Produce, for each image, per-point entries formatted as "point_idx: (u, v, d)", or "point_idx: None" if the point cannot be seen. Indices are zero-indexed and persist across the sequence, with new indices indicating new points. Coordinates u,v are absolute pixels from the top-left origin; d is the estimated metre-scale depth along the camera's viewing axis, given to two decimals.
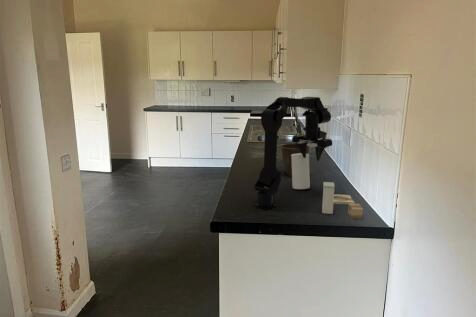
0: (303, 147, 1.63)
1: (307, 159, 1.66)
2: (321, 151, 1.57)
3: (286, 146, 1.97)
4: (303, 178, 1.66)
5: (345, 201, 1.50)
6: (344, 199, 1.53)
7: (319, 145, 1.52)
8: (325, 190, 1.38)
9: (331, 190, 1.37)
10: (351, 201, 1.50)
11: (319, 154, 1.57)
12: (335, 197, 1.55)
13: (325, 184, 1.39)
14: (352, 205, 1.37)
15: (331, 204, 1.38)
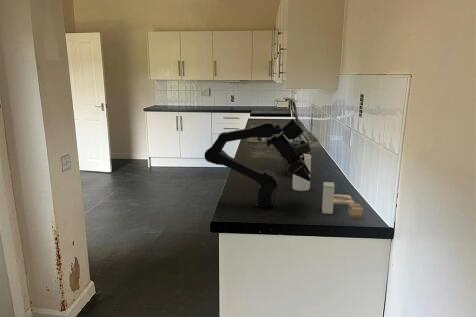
0: None
1: (309, 162, 1.64)
2: (304, 171, 1.35)
3: None
4: (303, 180, 1.65)
5: (345, 201, 1.50)
6: (344, 199, 1.53)
7: None
8: (325, 190, 1.38)
9: (331, 190, 1.37)
10: (351, 201, 1.50)
11: (303, 176, 1.36)
12: (335, 197, 1.55)
13: (325, 184, 1.39)
14: (352, 205, 1.37)
15: (331, 204, 1.38)
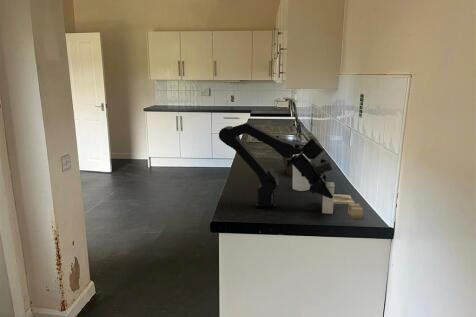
0: None
1: None
2: (325, 189, 1.36)
3: None
4: (303, 180, 1.65)
5: (345, 201, 1.50)
6: (344, 199, 1.53)
7: None
8: None
9: (331, 190, 1.37)
10: (351, 201, 1.50)
11: (325, 193, 1.37)
12: (335, 197, 1.55)
13: None
14: (352, 205, 1.37)
15: (331, 204, 1.38)
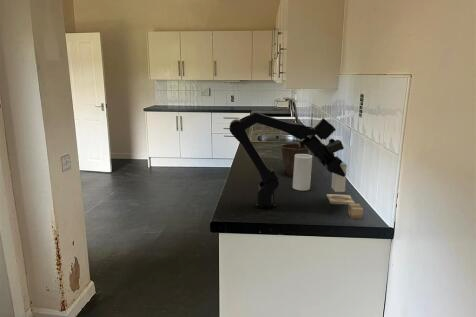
0: None
1: (309, 161, 1.65)
2: (339, 168, 1.40)
3: (286, 146, 1.97)
4: (303, 180, 1.66)
5: (345, 201, 1.50)
6: (344, 199, 1.53)
7: None
8: None
9: (343, 168, 1.41)
10: (351, 201, 1.50)
11: (339, 172, 1.40)
12: (335, 197, 1.55)
13: None
14: (352, 205, 1.37)
15: (343, 182, 1.42)
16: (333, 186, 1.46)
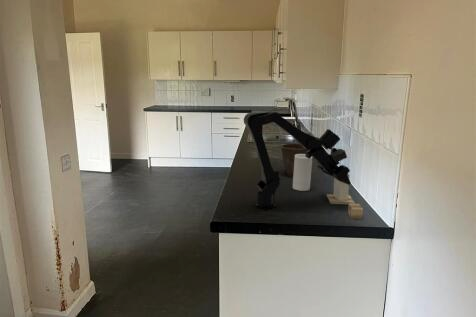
0: (331, 171, 1.56)
1: (309, 162, 1.64)
2: (346, 177, 1.46)
3: (286, 146, 1.97)
4: (302, 180, 1.66)
5: (345, 201, 1.50)
6: None
7: (336, 178, 1.44)
8: None
9: None
10: (351, 201, 1.50)
11: (345, 181, 1.46)
12: None
13: None
14: (352, 205, 1.37)
15: (346, 191, 1.51)
16: (336, 195, 1.53)
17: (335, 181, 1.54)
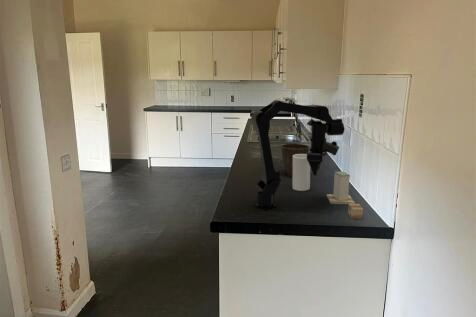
0: None
1: (307, 161, 1.64)
2: (316, 165, 1.43)
3: (286, 146, 1.97)
4: (301, 180, 1.66)
5: (345, 201, 1.50)
6: None
7: None
8: (342, 179, 1.49)
9: (347, 178, 1.50)
10: (351, 201, 1.50)
11: (313, 168, 1.44)
12: None
13: (340, 173, 1.51)
14: (352, 205, 1.37)
15: (347, 191, 1.51)
16: (336, 195, 1.53)
17: (335, 181, 1.54)
